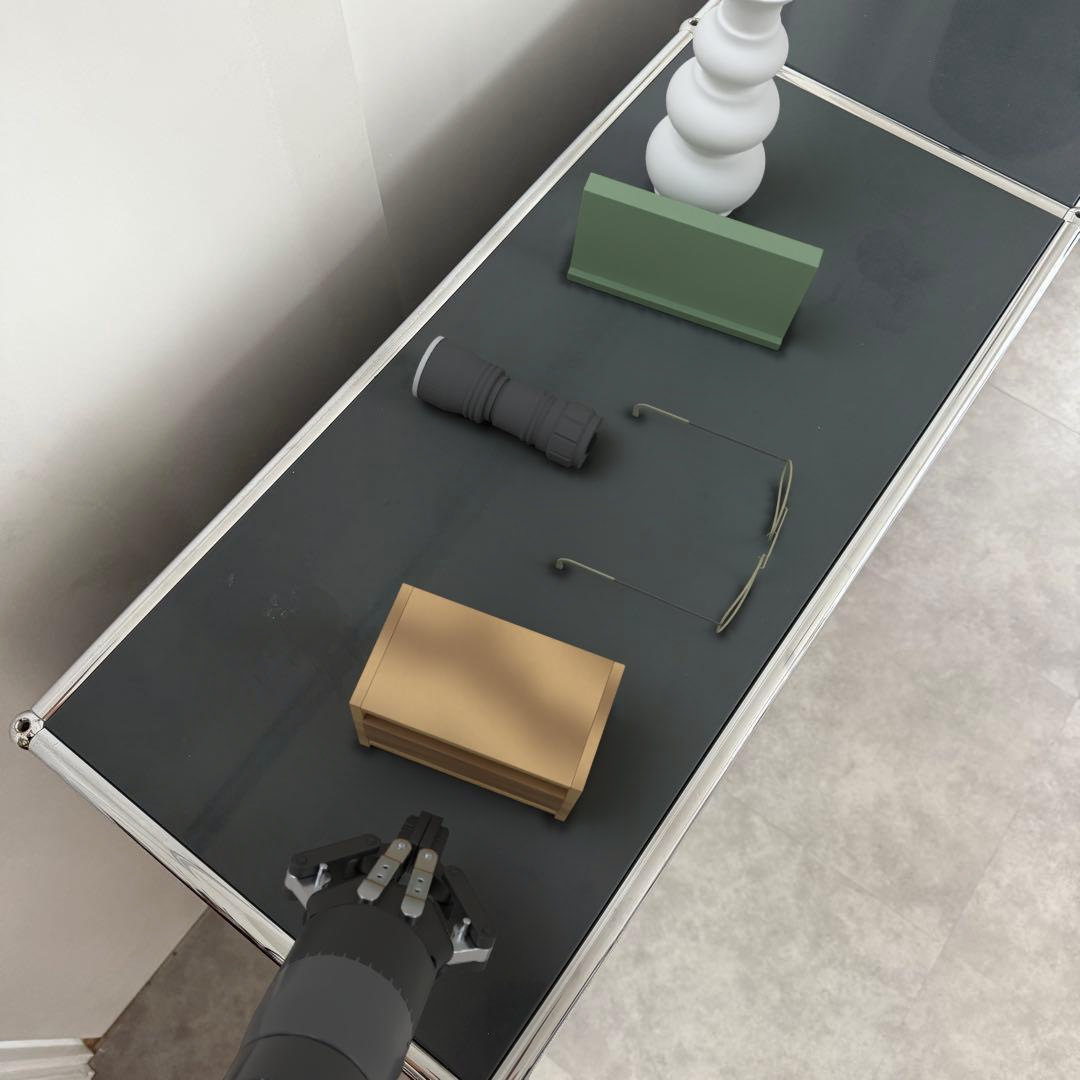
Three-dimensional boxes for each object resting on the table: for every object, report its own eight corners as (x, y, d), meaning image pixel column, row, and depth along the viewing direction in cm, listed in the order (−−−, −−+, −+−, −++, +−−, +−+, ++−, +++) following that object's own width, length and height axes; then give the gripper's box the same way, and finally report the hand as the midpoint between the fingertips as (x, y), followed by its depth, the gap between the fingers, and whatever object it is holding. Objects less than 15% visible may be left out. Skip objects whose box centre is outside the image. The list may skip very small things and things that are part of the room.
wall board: (777, 351, 98) (816, 274, 88) (566, 279, 99) (580, 195, 89) (790, 308, 100) (830, 228, 90) (583, 238, 101) (599, 152, 91)
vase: (653, 246, 102) (715, 20, 79) (625, 155, 106) (676, -84, 83) (765, 233, 104) (857, 8, 81) (733, 144, 108) (812, -94, 85)
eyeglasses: (727, 646, 86) (743, 625, 82) (554, 568, 88) (561, 542, 83) (793, 484, 93) (811, 456, 88) (631, 413, 94) (641, 382, 90)
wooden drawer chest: (563, 824, 80) (581, 795, 70) (358, 746, 81) (347, 706, 71) (603, 708, 84) (625, 665, 74) (406, 635, 85) (403, 582, 75)
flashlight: (603, 434, 93) (613, 401, 88) (577, 484, 91) (585, 454, 86) (442, 359, 95) (443, 323, 90) (412, 407, 93) (411, 373, 88)
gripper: (484, 1015, 52) (544, 814, 68) (227, 916, 53) (346, 740, 69) (442, 1125, 55) (509, 907, 71) (197, 1029, 56) (319, 834, 72)
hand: (429, 825), depth 70 cm, fingers closed
